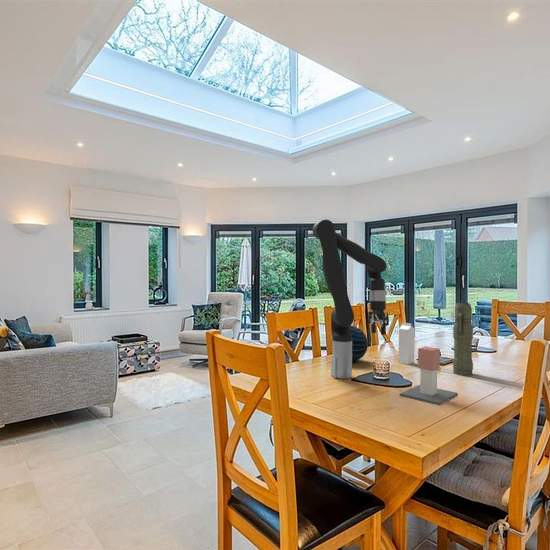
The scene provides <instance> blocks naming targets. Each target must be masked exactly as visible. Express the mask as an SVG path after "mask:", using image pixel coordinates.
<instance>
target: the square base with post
mask: <svg viewBox="0 0 550 550" xmlns="http://www.w3.org/2000/svg"><path fill="white" fill-rule="evenodd" d="M419 369H420V368H419ZM419 377H420V378H419V379H420V381H419V382H420V383H419V384H418V385H416V386H413V387H411V388H408V389H407V390H404V391H402V392H400V393H399V396H400V397H405V398H409V399H413V400H417V401H421V402H424V403H429V404H433V405H438V406H440V405H442V404H444V403H446V402H448V400H451V399H453V398H454V397H456V396H458V392H456V391H451V390H447V389H442V388H438V369H437V370H434V371H431V370H425V369H420V375H419Z"/></svg>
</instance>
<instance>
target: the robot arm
mask: <svg viewBox="0 0 550 550" xmlns="http://www.w3.org/2000/svg"><path fill="white" fill-rule="evenodd" d="M312 234H313V237H314V238H316V239H317V240H319V241H320V245H321V253H322V272H323V277H324V281H325V284H326V286H327V288H328V291H329V293H330V294H331V297H332V300H333V304H334V308H333V310H332V311H331V314H330V329H331V331H330V332H331V336H332V337H333V349H332V355H330V376H332V378H334V379H342V380H345V379H351V378H353V362H352V334H351V332H350V326H353V323H354V322H355V321H354V320H355V314H354V310H353V308H352V304H351V301H350V298H349V294H348V293H349V292H348V288H347V283H346V277H345V272H344V268H343V264H342V259H341V257H340V256H341V255H340V252H339V250H340V251H341V252H342V253H343V254H345V255H347V256H348V257H350V258H351V259H353V260H354V261H356V262H357V263H359V264H361V265H365V266H367V267H366V270H367V271H366V272H367V275H368V280H369V310H370V311H368V312H367V313H368V317H367V319H368V321H367V322H368V324H370V330H371V331H370V332H371V334H376V333H377V322H378V323H379V325H380V334H381V335H382V336H386V334H387V327H388V326H389V325H390V324H389V322H390V321H389V313H388V312H385V311H386V310H387V298H386V297H387V295H386V282H385V279H384V278H383V277H382V273H383V272H385V271H386V270H387V262H386V260H384V258H382V257H381V256H379V255H377V254H375V253H372V252H371V251H368V250H367V249H365V248H364V247H363V246H361V245H360V244H358V243H356V242H354V241H352V240H350V239H348V238H346V237H343V236H342V235H340V234H338V232H336V226H335V224H334V222H332V221H331V220H329V219H325V218H324V219H321V220H319V221H318V222H316V223H314V224H313V227H312Z"/></svg>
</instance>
